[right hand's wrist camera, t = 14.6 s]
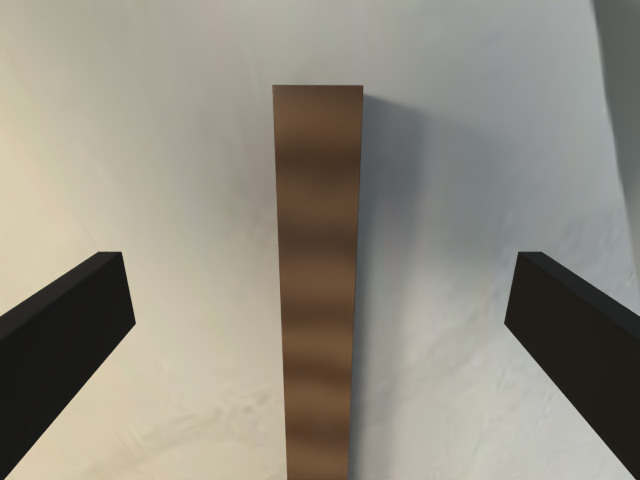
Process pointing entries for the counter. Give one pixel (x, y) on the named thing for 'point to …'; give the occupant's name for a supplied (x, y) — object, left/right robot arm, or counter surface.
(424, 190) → the counter surface
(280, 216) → the bar
